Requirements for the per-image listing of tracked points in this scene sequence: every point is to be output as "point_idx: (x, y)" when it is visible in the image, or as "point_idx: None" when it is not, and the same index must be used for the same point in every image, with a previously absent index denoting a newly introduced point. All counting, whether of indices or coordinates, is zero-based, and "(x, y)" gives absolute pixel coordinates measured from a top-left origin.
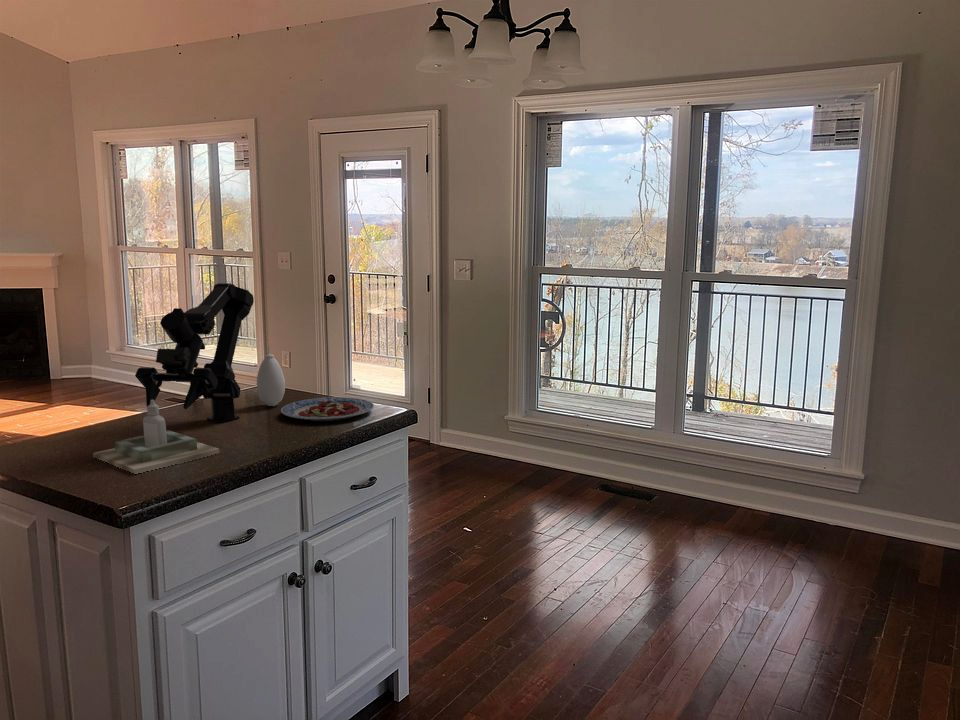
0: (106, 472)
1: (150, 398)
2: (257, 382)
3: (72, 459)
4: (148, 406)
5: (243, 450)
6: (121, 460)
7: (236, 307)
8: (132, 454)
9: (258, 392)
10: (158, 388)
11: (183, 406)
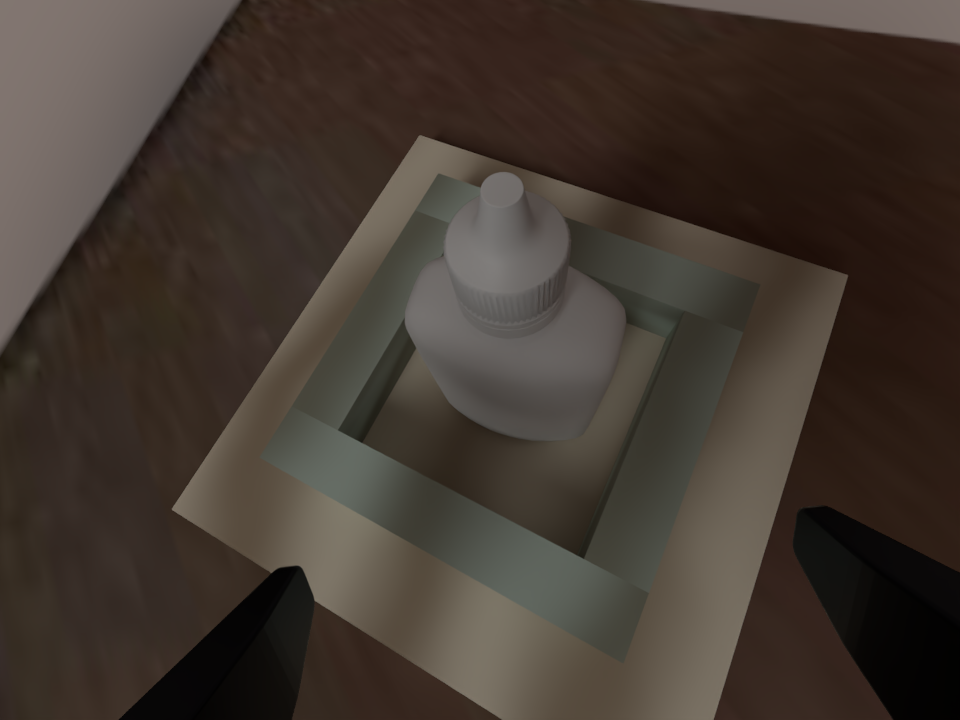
0: (570, 148)
1: (907, 614)
2: None
3: (920, 246)
4: (526, 192)
5: (76, 608)
6: (576, 212)
7: None
8: None
9: None
10: None
11: (293, 568)
